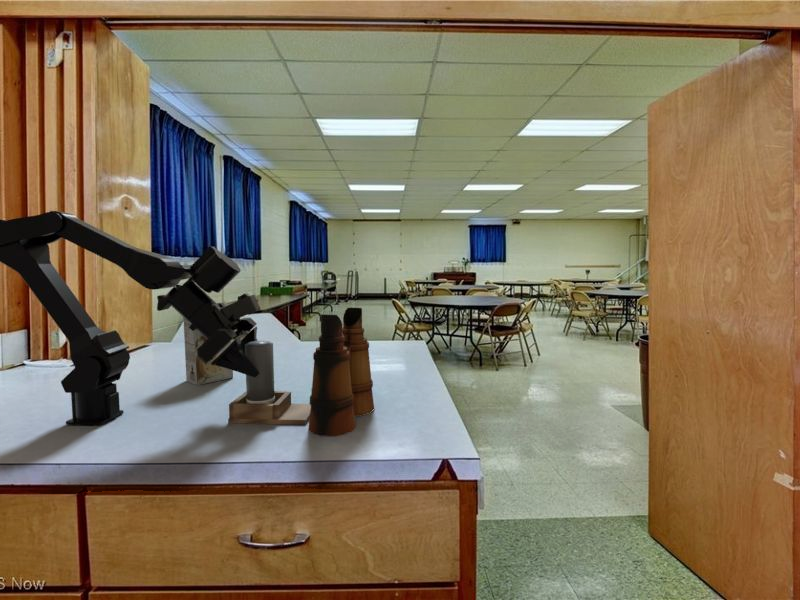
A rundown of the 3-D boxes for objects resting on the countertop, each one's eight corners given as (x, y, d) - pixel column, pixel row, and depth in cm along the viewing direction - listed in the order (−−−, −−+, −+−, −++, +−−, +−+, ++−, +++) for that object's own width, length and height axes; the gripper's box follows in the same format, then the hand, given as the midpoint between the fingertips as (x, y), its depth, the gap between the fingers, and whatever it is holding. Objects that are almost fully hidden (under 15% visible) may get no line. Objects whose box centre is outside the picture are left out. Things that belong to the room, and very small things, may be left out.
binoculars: (342, 400, 91) (341, 305, 90) (379, 404, 89) (380, 306, 88) (299, 433, 74) (297, 315, 72) (344, 438, 72) (343, 317, 70)
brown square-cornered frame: (228, 423, 78) (227, 405, 78) (247, 406, 87) (246, 390, 87) (305, 424, 78) (305, 406, 78) (316, 407, 87) (316, 391, 87)
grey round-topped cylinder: (241, 412, 81) (238, 344, 80) (258, 404, 86) (256, 339, 85) (264, 415, 79) (262, 345, 78) (280, 406, 84) (278, 341, 83)
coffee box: (221, 373, 113) (220, 312, 112) (233, 378, 109) (232, 314, 108) (185, 380, 106) (182, 315, 105) (196, 385, 102) (193, 317, 101)
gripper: (215, 281, 71) (285, 348, 73) (245, 278, 89) (300, 331, 91) (166, 330, 71) (237, 395, 73) (206, 316, 89) (262, 368, 91)
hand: (263, 369), depth 82 cm, fingers open, 9 cm apart
